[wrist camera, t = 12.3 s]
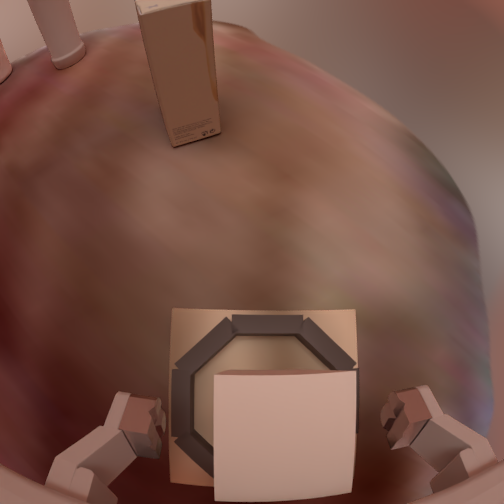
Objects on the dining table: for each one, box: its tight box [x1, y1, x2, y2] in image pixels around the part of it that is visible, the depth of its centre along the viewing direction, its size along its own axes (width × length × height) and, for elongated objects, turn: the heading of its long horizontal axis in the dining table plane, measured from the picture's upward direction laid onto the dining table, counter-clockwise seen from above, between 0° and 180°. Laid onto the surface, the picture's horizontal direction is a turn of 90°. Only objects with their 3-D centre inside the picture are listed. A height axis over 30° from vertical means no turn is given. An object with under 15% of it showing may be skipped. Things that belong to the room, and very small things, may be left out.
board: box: [169, 308, 359, 487], centre depth 15 cm, size 11×11×2 cm
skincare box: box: [135, 0, 221, 147], centre depth 18 cm, size 6×4×12 cm
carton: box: [214, 369, 356, 502], centre depth 11 cm, size 4×4×9 cm
